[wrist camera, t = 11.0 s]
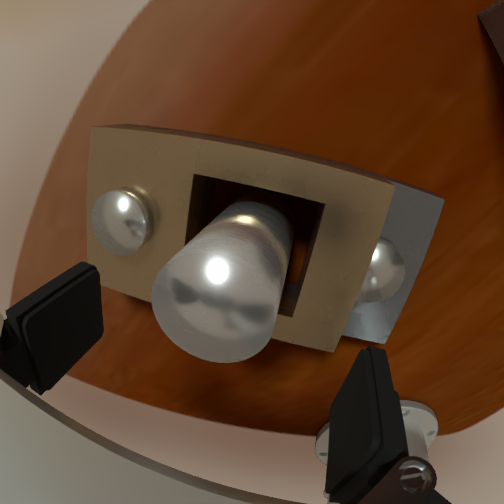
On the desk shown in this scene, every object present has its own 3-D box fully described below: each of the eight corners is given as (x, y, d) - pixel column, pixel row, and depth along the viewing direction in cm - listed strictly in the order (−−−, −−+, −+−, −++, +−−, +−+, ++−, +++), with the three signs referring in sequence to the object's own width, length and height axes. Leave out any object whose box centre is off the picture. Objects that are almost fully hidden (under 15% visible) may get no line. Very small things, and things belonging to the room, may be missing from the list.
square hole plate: (432, 192, 16) (467, 214, 12) (380, 326, 20) (391, 374, 16) (128, 124, 18) (80, 127, 14) (119, 257, 22) (80, 287, 18)
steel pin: (286, 266, 20) (259, 375, 11) (220, 249, 20) (150, 341, 11) (302, 200, 18) (289, 273, 9) (231, 184, 19) (153, 238, 10)
